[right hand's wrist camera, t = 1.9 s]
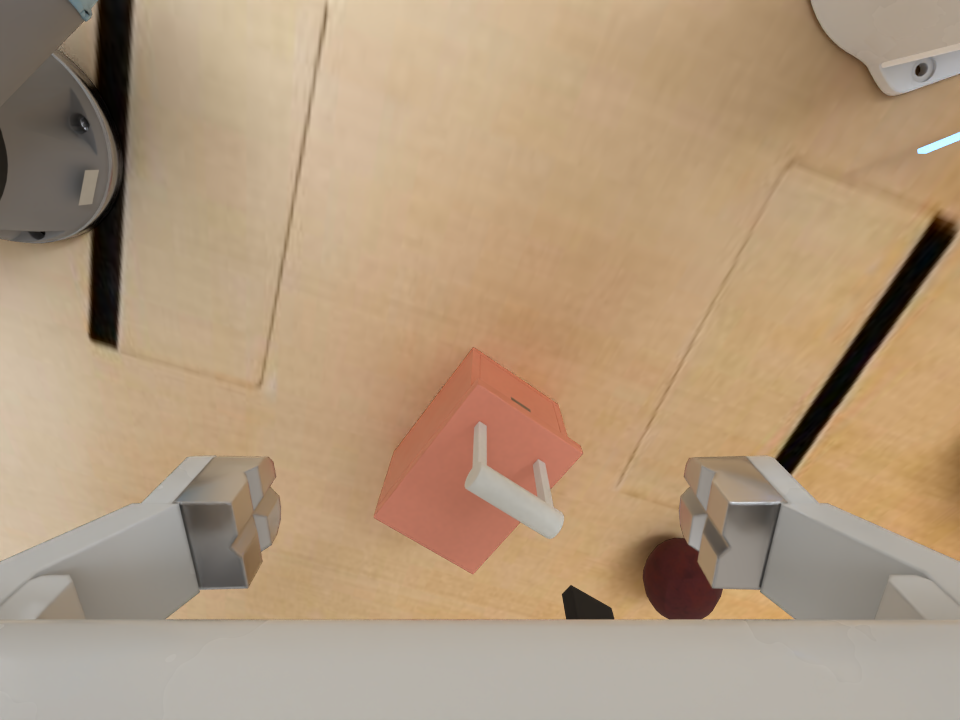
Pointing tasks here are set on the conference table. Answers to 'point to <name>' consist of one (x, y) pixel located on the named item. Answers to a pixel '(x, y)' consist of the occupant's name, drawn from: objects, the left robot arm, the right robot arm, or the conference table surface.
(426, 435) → the chest
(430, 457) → the pink board with handle
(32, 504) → the conference table surface
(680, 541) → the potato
